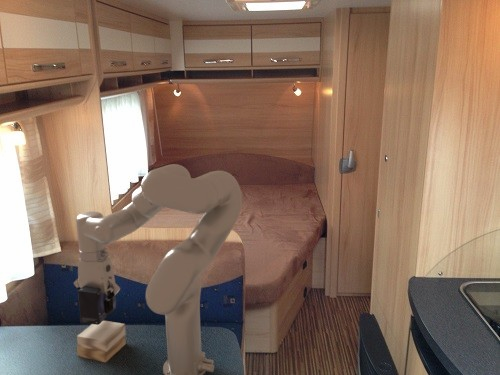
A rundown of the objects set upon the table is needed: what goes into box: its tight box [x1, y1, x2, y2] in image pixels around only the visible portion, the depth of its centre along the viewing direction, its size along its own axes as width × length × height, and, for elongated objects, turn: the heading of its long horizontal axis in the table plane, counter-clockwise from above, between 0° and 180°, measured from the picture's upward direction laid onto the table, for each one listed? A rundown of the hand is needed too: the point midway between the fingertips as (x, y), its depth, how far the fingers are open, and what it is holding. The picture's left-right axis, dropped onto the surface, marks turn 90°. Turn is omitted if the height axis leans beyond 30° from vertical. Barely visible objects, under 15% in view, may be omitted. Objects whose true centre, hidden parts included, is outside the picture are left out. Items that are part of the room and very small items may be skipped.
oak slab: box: [76, 334, 126, 363], centre depth 134 cm, size 10×10×4 cm
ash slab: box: [76, 320, 127, 352], centre depth 134 cm, size 10×10×4 cm
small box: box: [77, 286, 117, 325], centre depth 131 cm, size 11×6×10 cm, turn 168°
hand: (98, 308), depth 132 cm, fingers closed on small box, 6 cm apart
